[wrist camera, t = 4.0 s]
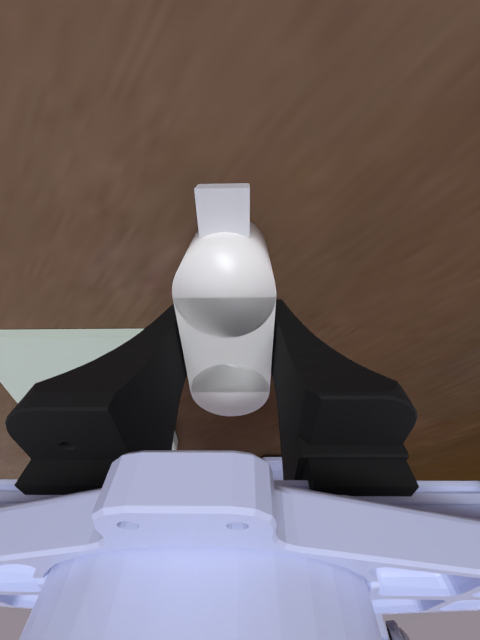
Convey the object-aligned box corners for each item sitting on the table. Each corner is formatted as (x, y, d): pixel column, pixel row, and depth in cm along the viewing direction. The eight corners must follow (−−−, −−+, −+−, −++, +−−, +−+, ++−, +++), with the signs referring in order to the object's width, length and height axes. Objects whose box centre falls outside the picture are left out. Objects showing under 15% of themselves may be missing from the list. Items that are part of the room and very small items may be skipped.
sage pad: (178, 441, 22) (176, 451, 21) (61, 441, 22) (56, 451, 22) (146, 328, 15) (142, 337, 14) (-23, 329, 15) (-35, 338, 15)
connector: (262, 359, 16) (267, 416, 13) (204, 359, 16) (195, 416, 13) (270, 177, 10) (283, 196, 7) (181, 179, 11) (153, 198, 7)
